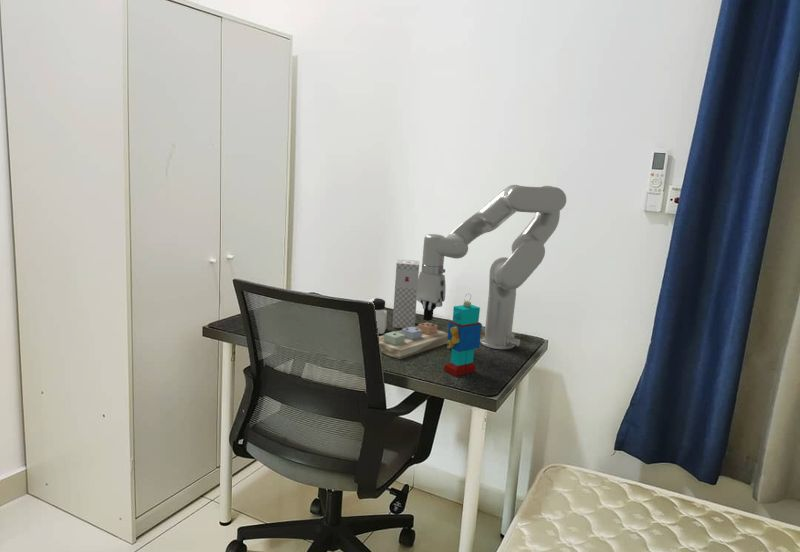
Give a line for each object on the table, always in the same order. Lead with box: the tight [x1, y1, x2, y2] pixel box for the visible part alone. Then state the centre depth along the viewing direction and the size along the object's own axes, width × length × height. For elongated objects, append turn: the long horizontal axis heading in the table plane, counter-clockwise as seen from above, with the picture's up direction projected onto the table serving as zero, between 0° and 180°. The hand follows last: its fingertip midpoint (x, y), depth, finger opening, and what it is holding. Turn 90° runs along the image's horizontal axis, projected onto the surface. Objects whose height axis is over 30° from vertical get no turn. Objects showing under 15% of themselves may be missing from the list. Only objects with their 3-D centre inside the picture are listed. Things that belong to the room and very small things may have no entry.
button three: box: [417, 321, 438, 335], centre depth 203 cm, size 5×5×3 cm
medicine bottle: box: [368, 297, 388, 335], centre depth 209 cm, size 7×7×12 cm
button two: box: [401, 327, 422, 340], centre depth 196 cm, size 5×5×3 cm
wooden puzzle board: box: [378, 325, 448, 360], centre depth 196 cm, size 14×28×3 cm, turn 139°
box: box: [392, 259, 420, 329], centre depth 217 cm, size 8×8×25 cm
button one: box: [383, 330, 405, 346], centre depth 189 cm, size 5×5×3 cm
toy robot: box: [443, 293, 484, 377], centre depth 172 cm, size 12×6×25 cm, turn 127°
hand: (427, 319), depth 202 cm, fingers closed
